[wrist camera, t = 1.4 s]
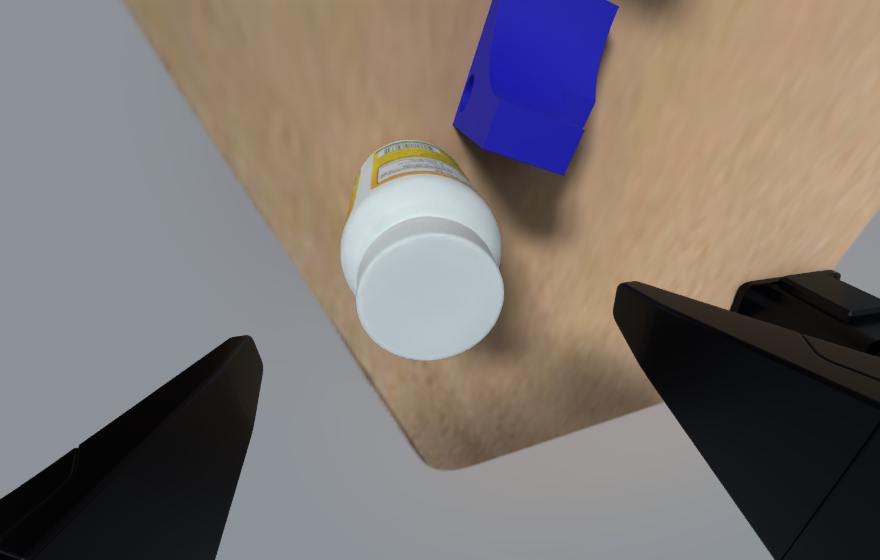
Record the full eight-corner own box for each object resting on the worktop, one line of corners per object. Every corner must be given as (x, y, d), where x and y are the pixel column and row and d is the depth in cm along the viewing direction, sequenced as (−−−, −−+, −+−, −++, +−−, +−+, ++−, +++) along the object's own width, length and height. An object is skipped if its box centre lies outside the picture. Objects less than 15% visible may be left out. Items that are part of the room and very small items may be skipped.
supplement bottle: (409, 111, 17) (438, 154, 8) (486, 195, 19) (569, 296, 11) (329, 197, 18) (284, 310, 10) (410, 267, 20) (431, 405, 12)
